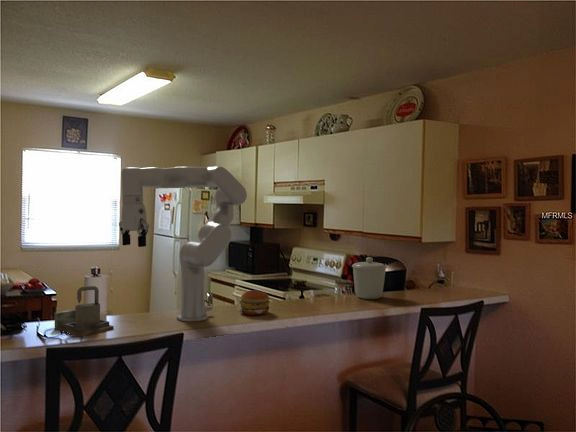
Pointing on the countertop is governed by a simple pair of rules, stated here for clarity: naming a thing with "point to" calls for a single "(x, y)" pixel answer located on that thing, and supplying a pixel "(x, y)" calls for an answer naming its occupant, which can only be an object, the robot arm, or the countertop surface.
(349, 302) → the countertop surface
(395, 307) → the countertop surface
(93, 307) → the padlock
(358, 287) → the canister
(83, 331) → the open hinged box
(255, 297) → the burger
